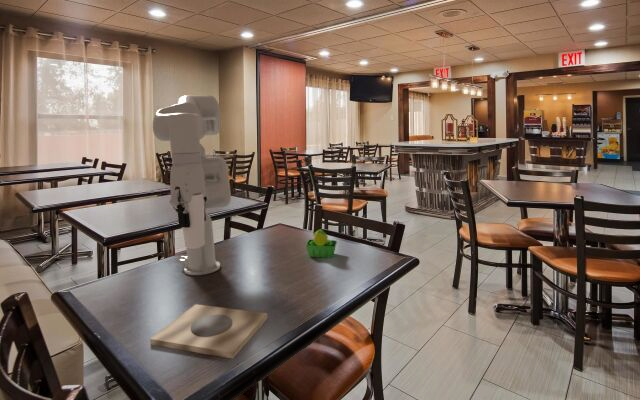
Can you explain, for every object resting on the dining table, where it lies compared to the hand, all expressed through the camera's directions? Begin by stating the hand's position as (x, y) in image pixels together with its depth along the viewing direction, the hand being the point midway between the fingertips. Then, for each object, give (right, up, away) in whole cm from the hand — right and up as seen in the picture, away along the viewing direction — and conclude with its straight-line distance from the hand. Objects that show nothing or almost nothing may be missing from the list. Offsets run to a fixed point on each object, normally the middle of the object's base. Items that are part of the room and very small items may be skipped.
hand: (192, 223), depth 106 cm
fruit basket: (+36, -15, +41) cm, 57 cm away
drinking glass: (0, -7, +1) cm, 7 cm away
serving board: (+8, -26, -11) cm, 30 cm away
